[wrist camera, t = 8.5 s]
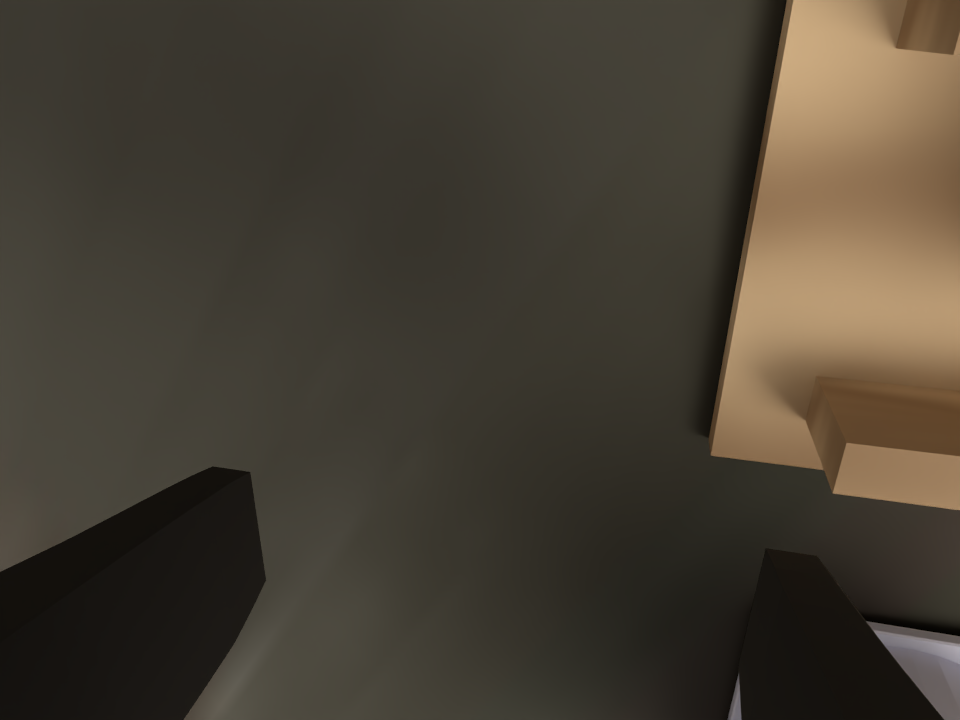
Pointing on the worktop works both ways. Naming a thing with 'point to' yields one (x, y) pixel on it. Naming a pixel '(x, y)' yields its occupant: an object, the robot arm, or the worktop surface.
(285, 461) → the worktop surface
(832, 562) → the worktop surface
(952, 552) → the worktop surface
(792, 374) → the clip holder
